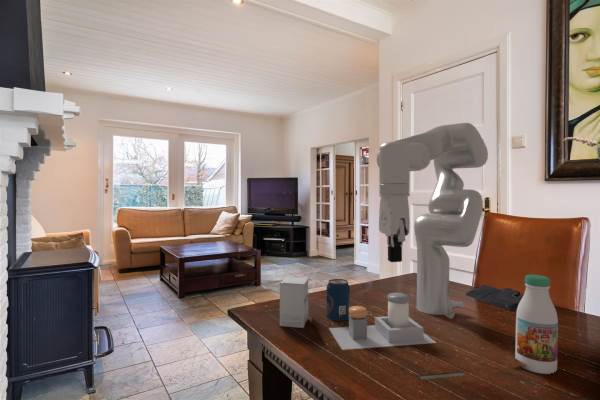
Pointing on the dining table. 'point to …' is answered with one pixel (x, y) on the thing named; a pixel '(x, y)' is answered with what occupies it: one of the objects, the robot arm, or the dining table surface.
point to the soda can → (338, 299)
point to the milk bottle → (537, 327)
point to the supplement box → (294, 302)
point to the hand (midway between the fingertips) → (394, 261)
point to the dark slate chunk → (497, 297)
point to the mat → (441, 375)
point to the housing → (378, 334)
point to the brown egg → (357, 312)
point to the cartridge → (398, 310)
